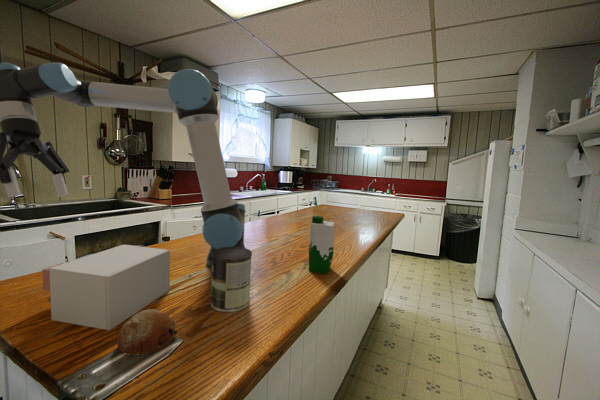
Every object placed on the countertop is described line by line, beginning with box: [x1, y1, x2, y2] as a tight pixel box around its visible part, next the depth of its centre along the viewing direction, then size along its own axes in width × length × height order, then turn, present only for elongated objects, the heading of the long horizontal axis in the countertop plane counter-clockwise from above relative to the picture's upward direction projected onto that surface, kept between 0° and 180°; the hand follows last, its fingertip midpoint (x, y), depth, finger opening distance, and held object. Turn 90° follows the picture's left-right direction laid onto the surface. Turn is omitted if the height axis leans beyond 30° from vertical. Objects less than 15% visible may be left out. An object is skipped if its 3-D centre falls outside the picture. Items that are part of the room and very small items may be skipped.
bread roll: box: [116, 308, 178, 356], centre depth 55 cm, size 10×10×8 cm
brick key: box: [41, 262, 64, 291], centre depth 65 cm, size 16×4×5 cm, turn 81°
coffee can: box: [210, 247, 253, 313], centre depth 72 cm, size 10×10×14 cm
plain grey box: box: [50, 244, 171, 331], centre depth 68 cm, size 15×20×12 cm
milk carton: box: [308, 215, 335, 275], centre depth 100 cm, size 9×9×20 cm
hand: (41, 195), depth 75 cm, fingers open, 13 cm apart
